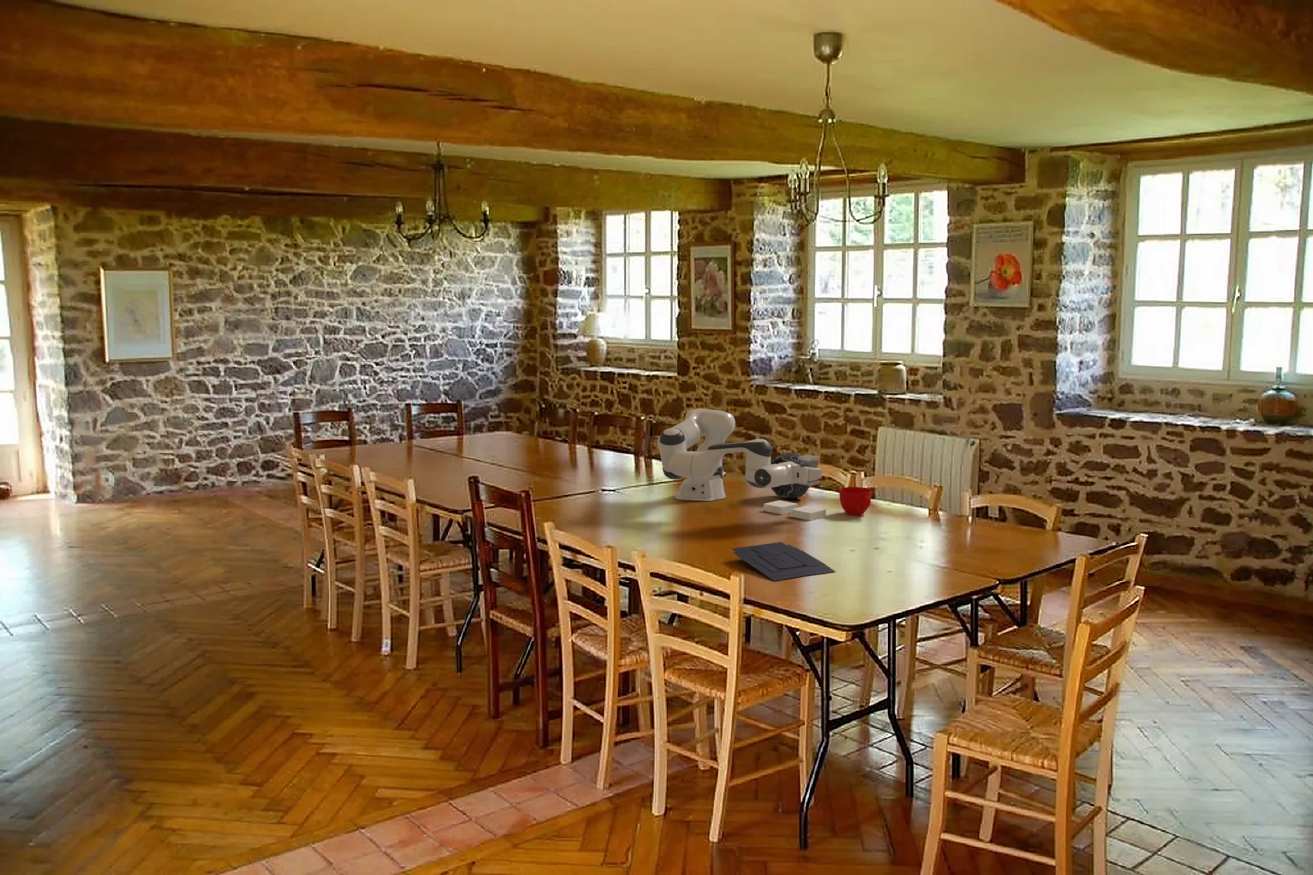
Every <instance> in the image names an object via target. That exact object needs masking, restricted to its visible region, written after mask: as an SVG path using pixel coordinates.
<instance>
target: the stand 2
mask: <svg viewBox="0 0 1313 875" xmlns="http://www.w3.org/2000/svg"><path fill="white" fill-rule="evenodd" d="M790 517H791V518H796V519H799V520H800V519H801V520H807V521H814V520H818V519H822V518H826V517H827V509H826V508H822V507H821V508H820V507H815V506H811V505H804V506H798V508H795V509H791V513H790Z"/></svg>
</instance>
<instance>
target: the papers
mask: <svg viewBox="0 0 1313 875" xmlns="http://www.w3.org/2000/svg"><path fill="white" fill-rule="evenodd" d="M731 550H732V551H733V552H732V553H733V554H735V555H736V556H737V557H738V558H740V560H742V561H744V562H746V563H747V564H749V565H750V566H751V567H753V568H755V569H756V570H757V571H759V572H760V573H762V574H763V575H765V576H766V577H767V578H769V579H771V580H772V581H774V582H776V581H782V580H788V579H792V578H793V579H794V578H799V577H805V576H812V575H820V574H827V573H835V572H836V571H835V570H834V569H833V568H831V567H829V566H828V565H827V564H826V563H824V562H822V561H821V560H819V559H817V558H816V557H815V556H812V555H811V554H809V553H807V552H806V551H804V550H802V549H800V548H798V547H795V546H793V545H791V544H785V542H782V541H779V542H778V541H777V542H770V543H765V544H758V545H748V546H741V547H734V548H733V547H732V548H731Z"/></svg>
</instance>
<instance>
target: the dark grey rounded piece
mask: <svg viewBox="0 0 1313 875" xmlns="http://www.w3.org/2000/svg"><path fill="white" fill-rule="evenodd" d="M799 456H801V455H800V454H797V453H796V452H786V453H781V454H779V455H777V456H776V457H775V458H773V459H771V464H770V465H772V464H779V463H783V462H788V461H791V462H794V463H795V464H798V465H801V460H800V459H799ZM810 487H811V486H808V485H802V484H798V483H794V484H787V485H780V486H777V487H770V489H771V491H773V492H774V493H775V495H776V496H778V497H779V498H782V499H784V500H785V499H786V500H792V499H799V498H801V497H803V496H804V495H805V494H806V493H807V492H808V490H809V489H810Z"/></svg>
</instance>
